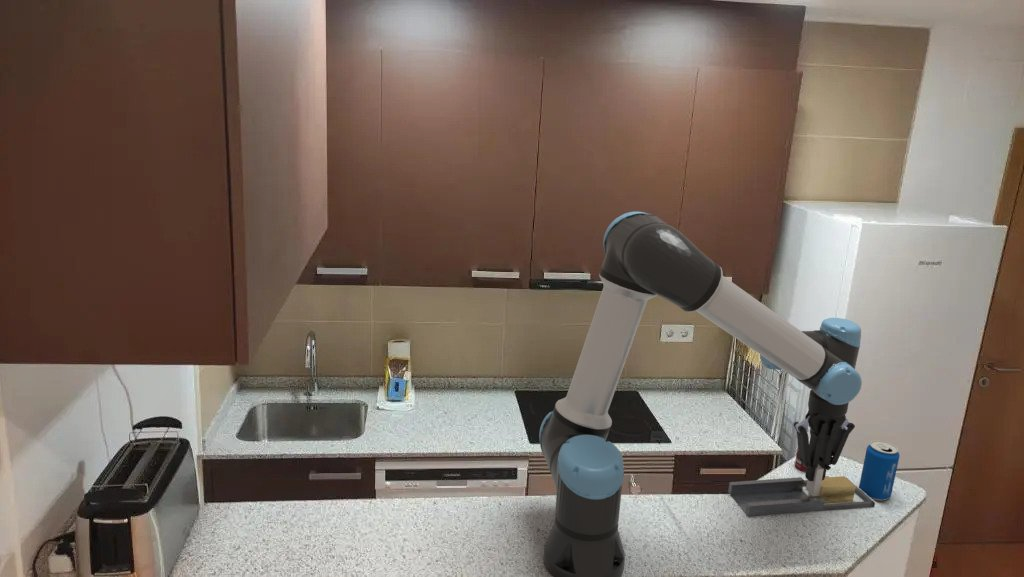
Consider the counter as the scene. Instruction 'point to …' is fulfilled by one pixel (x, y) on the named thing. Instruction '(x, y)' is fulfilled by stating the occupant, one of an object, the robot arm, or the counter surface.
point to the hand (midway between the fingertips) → (812, 492)
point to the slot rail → (773, 497)
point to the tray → (851, 505)
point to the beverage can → (879, 470)
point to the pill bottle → (800, 463)
